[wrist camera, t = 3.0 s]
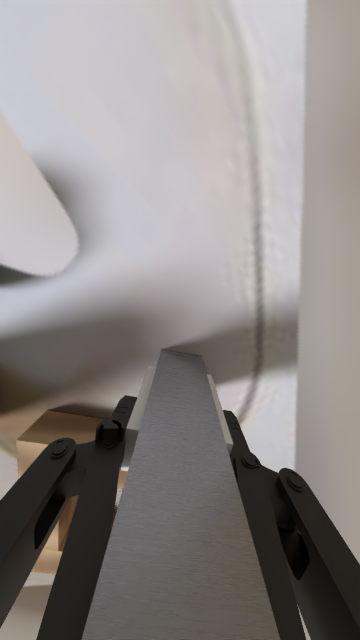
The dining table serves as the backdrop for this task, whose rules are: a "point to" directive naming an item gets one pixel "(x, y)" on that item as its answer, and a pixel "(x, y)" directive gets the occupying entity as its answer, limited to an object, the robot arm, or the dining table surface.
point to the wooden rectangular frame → (31, 447)
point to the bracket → (180, 528)
